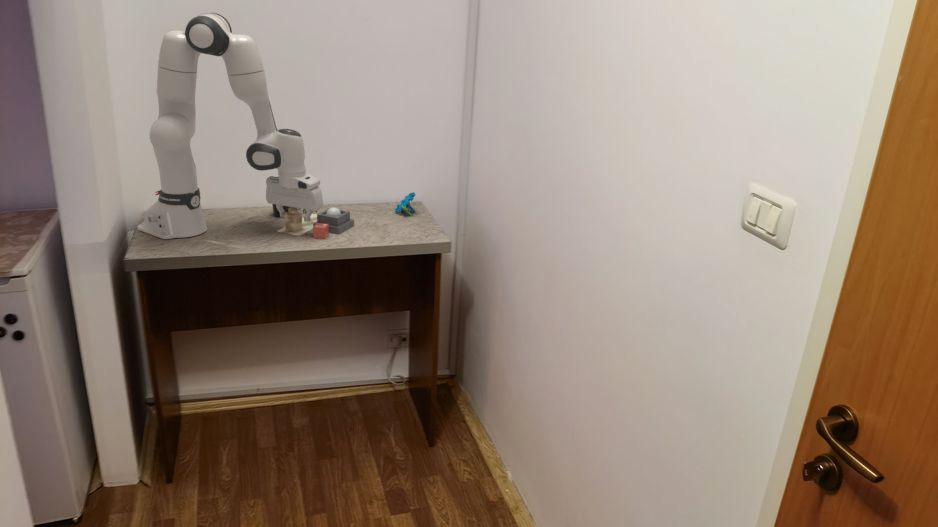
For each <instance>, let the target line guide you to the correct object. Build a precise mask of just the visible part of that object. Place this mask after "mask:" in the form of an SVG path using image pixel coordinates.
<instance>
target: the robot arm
mask: <svg viewBox="0 0 938 527" xmlns="http://www.w3.org/2000/svg"><path fill="white" fill-rule="evenodd" d="M159 48H160V49H159V54H158V64H157V80H156V94H157V101H158V115H157V116H158V117H157V119H156V120H155V121H154V122H153V123H152V125H151V126H150V130H149V140H150V143H151V145H152V149H153V152H154V156H155V159H156V162H157V166H158V171H159V180H160V187H161V189H160V190H158V191H155V192H154V193H155V196H158V199H157V201H156V202H155V203H153V204H152V205H151V206H149V207H148V208H147V209H146V210H145V211H144V215H143V217H144V218H143V220H144V221H143V222H142V223H139V224H138V226H137V227H136V228H137V230H138V231H140V232H142V233H143V232H144V233H145V234H148V235H151V236H154V237H156V238H160V239H162V240H170V239H176V238H178V239H179V238H189V237H195V236H199V235H202V234H204V233H205V232H206V231H208V227H207V222H206V219H205V217H204V214H203V208H202V204H201V191H200V187H199V186H198V185H199V184H198V176H197V175H198V174H197V167H196V166H197V165H196V163H195V161H194V160H195V159H194V157H193V154H192V153H193V152H192V149H191V139H192V138H193V137H194V136H195V132H196V92H197V91H196V89H197V87H196V86H197V77H198V76H197V75H198V62H199V57H200V56H201V54H204V55H209V56H215V57H221V58H222V60H223V62H224V64H225V69H226V74H227V79H228V82H229V86H230V88H231V90H232V93H233V95H234V96H235V98H237V99H238V100H240V101H241V102H244V103H245V104H246V105H248V107H249V109H250V111H251V112H252V113H251V114H252V117H253V121H254V124H255V129H256V133H257V136H256V140H255V141H253V142H252V143H251V144H250V145H249V147H248V148H247V149H246V151H245V158H246V161H247V163H248V164H249V166H250V167H251V168H253V169H254V170H256V171H269V170H271V171H272V170H275V169H276V170H277V173H278V174H277V176H273V175H270V176H269V177H267V178H266V179H265V180H266V181H265V182H266V189H265V200H266V202H267V203H268V204H276V208H277V209H278V211H279V212H280V217H279V218H284V219H285V214H286V213H287V212H285V211H284V209H283V207H282V206H288V207H294V208H297V209H299V208H300V209H299V210H304V209H306V210H305V211H306V213H307V214H305V215H304V216H303V218H304V221H306V222H309V221H310V220H311V217H310V216H311V214H313V213H314V212H316V211H317V212H318V211H319V210H321V209H322V208H323V206H324V199H323V193H322V189H321V188H320V184H321V180H320V179H319V178H318V177H315V176H314V175H312V174H311V173H308V172H307V170H306V166H305V160H306V152H305V145H304V139H303V136H302V134H301V133H300V132H299V131H297V130H294V129H290V128H280V129H278V128H277V126H276V121H275V117H274V113H273V109H272V105H271V102H270V98H269V92H268V86H267V85H268V84H267V78H266V73H265V72H266V71H265V68H264V63H263V60H262V56H261V53H260V50H259V48H258V45H257V43H256V41H255V39H253V38H252V36H249V35H247V34H241V33H239V34H234V33H233V30H232V27H231V23H230V22H229V20H228V19H227V18H226V17H224V16H223V15H222V14H220V13H216V12H204V13H201V14H198V15H196V16H195V17H193V18H191V19H190V20H189V21H188V22H187V24H186V26H185V29H184V30H183V31H182V30H171V31H168V32H166V33H165V34H164V35H163V37H162V40H161V44H160V47H159Z"/></svg>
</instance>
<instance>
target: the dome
mask: <svg viewBox="0 0 938 527" xmlns="http://www.w3.org/2000/svg"><path fill="white" fill-rule="evenodd" d="M329 208H330V209H329ZM329 208H328V209H329V210H328V211H327V214H326V215H329V216H334V217H337V216H339V215H341V212H340V210H341V209H339V208H338V207H334V206H333V207H329Z"/></svg>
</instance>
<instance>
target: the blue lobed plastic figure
mask: <svg viewBox="0 0 938 527" xmlns="http://www.w3.org/2000/svg"><path fill="white" fill-rule="evenodd" d="M416 195H417V194H416V192H414V191H412V192H410V193H408V195H406V196H404V198H403V199H401V200H400V203H399V204H397V205H396V208H395V209H394V211H395V212H396V214H398V213H400V212H402V210H403V212H404V213H407V214H408V215H409V216H410V217H412V216H413V213H415V212H416V209H415V208H414V207H412V205H411V201H414V197H416ZM409 209H410V211H411V212H410V211H409ZM412 212H413V213H412Z"/></svg>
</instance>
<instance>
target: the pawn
mask: <svg viewBox="0 0 938 527" xmlns="http://www.w3.org/2000/svg"><path fill="white" fill-rule="evenodd" d="M298 209H299V208H294V207H290V208H289V210H288V211H289V212H288V213H286V214H285V218H284V227H285V231H288V232H293V233H297V232H299V231H301V230H302V218H303V212H299V210H298Z"/></svg>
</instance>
